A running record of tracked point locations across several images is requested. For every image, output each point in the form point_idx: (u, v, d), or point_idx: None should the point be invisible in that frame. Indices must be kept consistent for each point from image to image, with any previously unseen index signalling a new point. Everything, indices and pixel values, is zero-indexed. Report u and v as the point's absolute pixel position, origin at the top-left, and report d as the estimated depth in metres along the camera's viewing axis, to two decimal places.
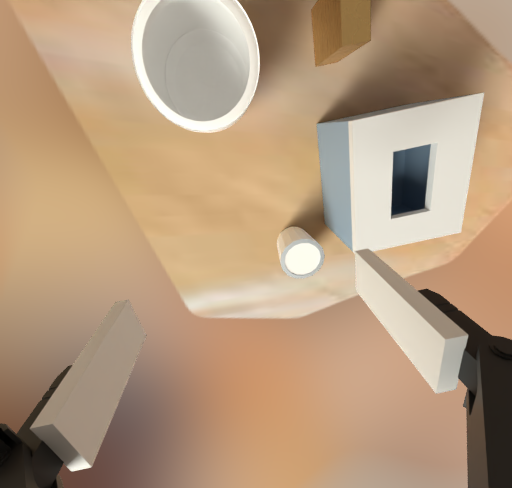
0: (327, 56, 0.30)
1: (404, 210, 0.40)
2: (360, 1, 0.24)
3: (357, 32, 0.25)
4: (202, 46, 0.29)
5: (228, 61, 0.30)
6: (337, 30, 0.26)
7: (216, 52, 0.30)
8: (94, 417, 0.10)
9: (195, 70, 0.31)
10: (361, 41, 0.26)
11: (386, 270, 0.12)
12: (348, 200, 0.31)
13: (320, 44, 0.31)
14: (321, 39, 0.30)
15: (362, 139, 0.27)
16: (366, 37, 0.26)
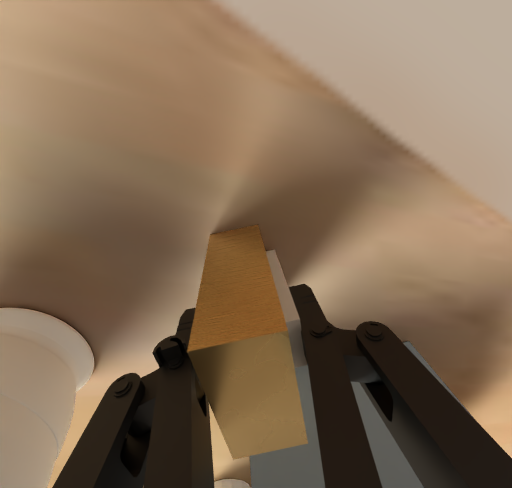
0: None
1: None
2: (269, 396, 0.08)
3: (271, 437, 0.09)
4: None
5: None
6: None
7: None
8: None
9: None
10: (283, 447, 0.10)
11: (276, 268, 0.14)
12: None
13: None
14: None
15: None
16: (296, 440, 0.10)
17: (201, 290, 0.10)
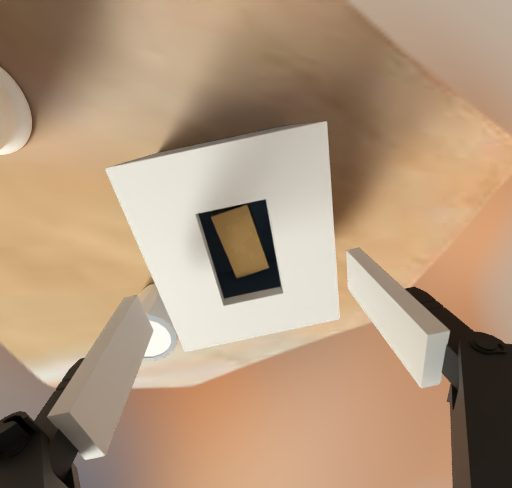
0: None
1: None
2: (246, 239, 0.21)
3: (251, 264, 0.22)
4: None
5: None
6: None
7: None
8: (106, 407, 0.10)
9: None
10: (258, 270, 0.22)
11: (375, 268, 0.12)
12: None
13: None
14: None
15: (134, 196, 0.16)
16: (263, 266, 0.22)
17: None
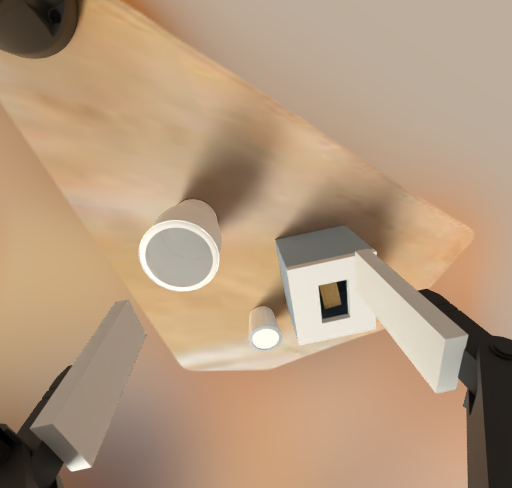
0: None
1: (344, 298, 0.53)
2: (332, 291, 0.44)
3: (333, 302, 0.45)
4: None
5: None
6: (321, 299, 0.45)
7: None
8: (94, 417, 0.10)
9: None
10: (336, 305, 0.45)
11: (386, 270, 0.12)
12: (292, 309, 0.44)
13: None
14: None
15: (295, 280, 0.39)
16: (338, 303, 0.45)
17: None
